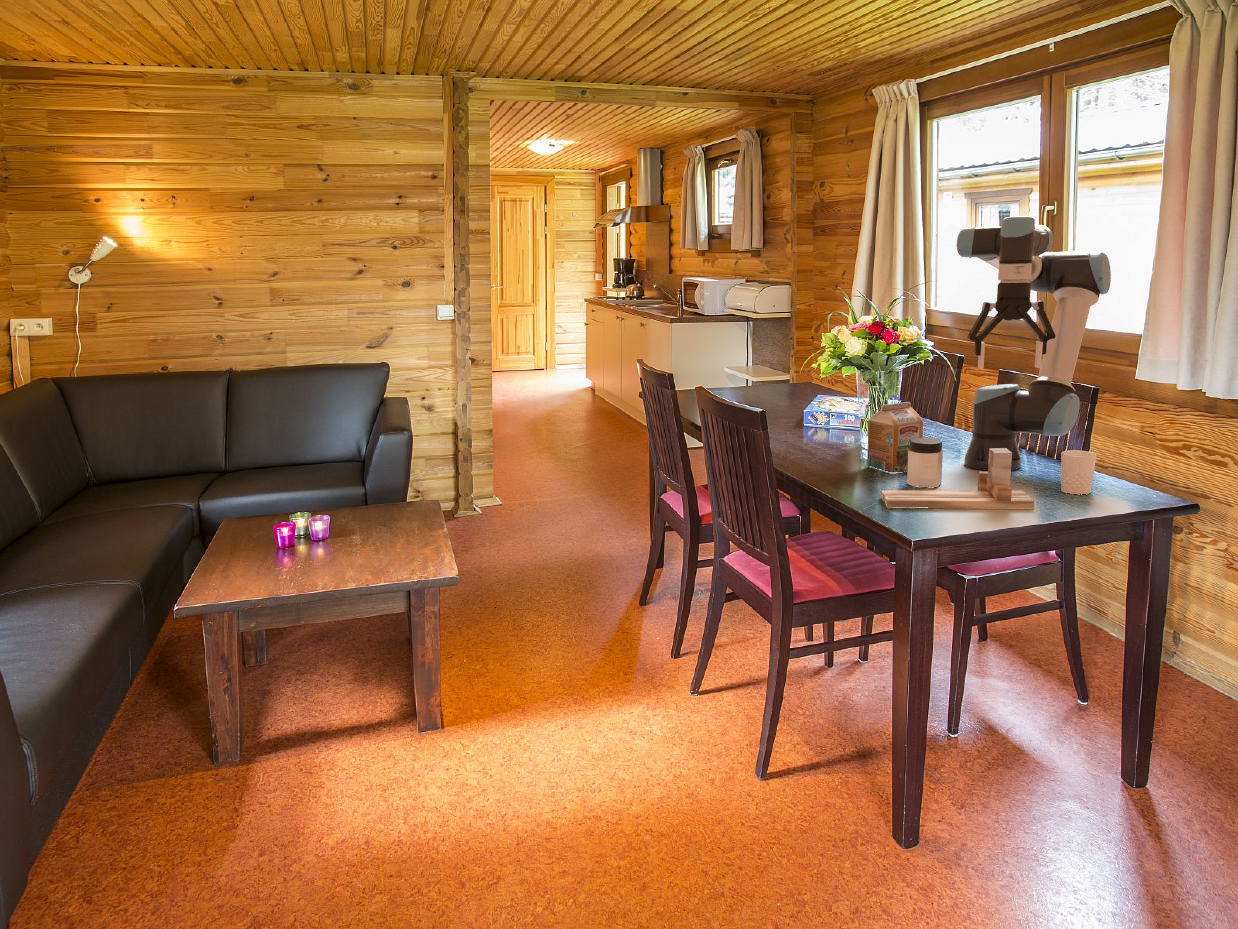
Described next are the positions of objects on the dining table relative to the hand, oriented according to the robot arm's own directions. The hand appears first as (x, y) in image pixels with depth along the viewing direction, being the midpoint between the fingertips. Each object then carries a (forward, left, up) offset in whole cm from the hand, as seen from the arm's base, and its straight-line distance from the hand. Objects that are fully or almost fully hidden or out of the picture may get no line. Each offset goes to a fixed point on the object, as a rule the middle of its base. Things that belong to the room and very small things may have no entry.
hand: (1009, 368), depth 232 cm
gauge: (+12, -4, -32) cm, 34 cm away
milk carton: (-26, -23, -32) cm, 47 cm away
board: (+12, -14, -32) cm, 37 cm away
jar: (-7, -18, -32) cm, 37 cm away
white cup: (0, +18, -32) cm, 37 cm away
